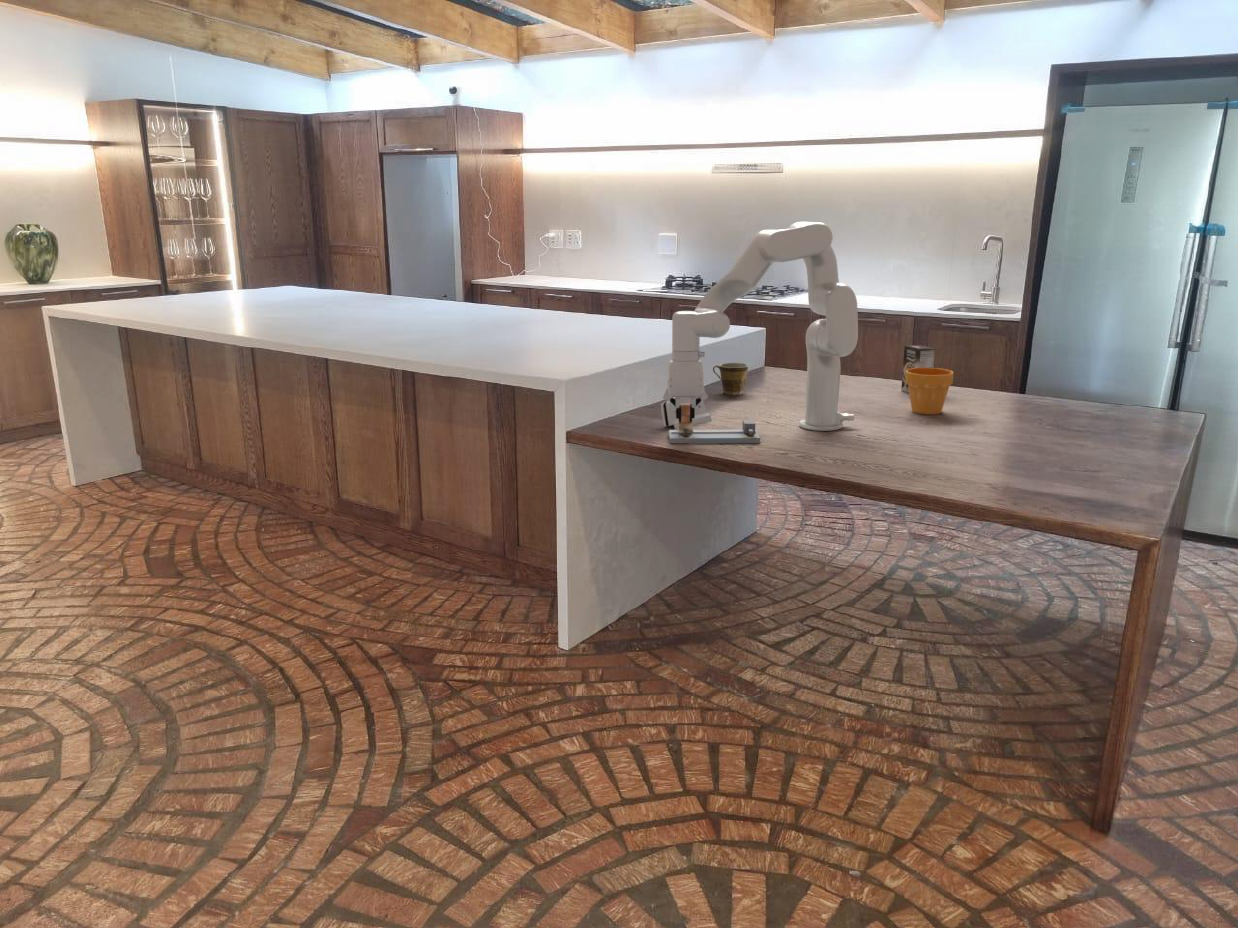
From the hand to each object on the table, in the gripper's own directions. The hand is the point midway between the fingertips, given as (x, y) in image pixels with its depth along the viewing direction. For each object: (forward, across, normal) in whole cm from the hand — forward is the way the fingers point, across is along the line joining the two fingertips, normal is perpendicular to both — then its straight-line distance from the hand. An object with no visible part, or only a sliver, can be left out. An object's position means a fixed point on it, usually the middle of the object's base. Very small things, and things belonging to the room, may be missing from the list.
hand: (685, 420), depth 252 cm
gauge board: (+5, -8, +1) cm, 10 cm away
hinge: (+6, -1, -19) cm, 20 cm away
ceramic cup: (+5, -19, -65) cm, 68 cm away
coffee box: (+5, -84, -63) cm, 105 cm away
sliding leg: (+3, 0, +2) cm, 4 cm away
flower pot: (+5, -78, -32) cm, 84 cm away
